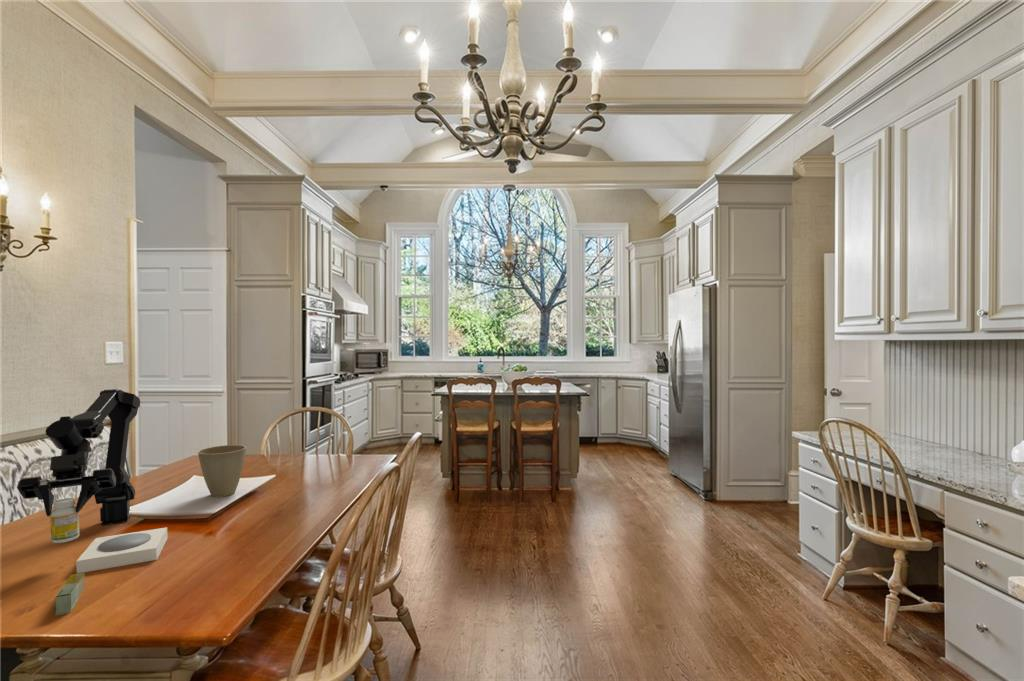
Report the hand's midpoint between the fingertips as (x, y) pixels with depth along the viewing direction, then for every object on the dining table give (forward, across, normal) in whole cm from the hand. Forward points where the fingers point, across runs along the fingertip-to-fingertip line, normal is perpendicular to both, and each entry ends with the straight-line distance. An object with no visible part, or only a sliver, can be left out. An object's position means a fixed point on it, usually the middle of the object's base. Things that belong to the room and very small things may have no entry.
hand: (62, 513), depth 130 cm
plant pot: (-24, +32, +44) cm, 60 cm away
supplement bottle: (+4, 0, +6) cm, 7 cm away
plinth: (+8, +12, +10) cm, 18 cm away
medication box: (+26, +7, -7) cm, 27 cm away
